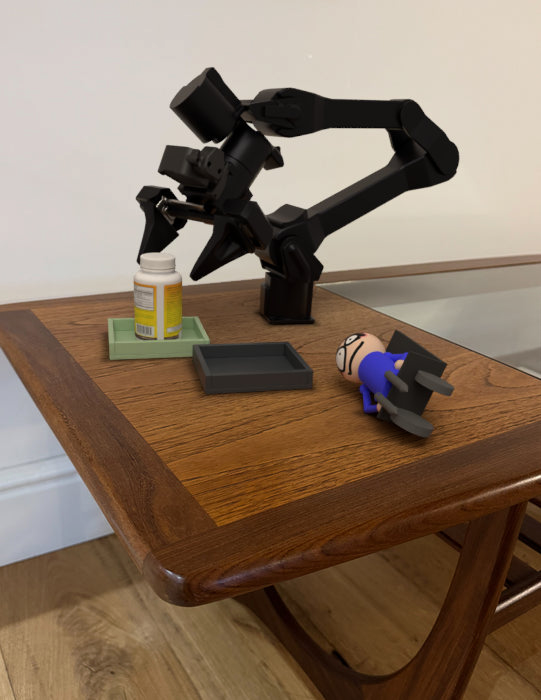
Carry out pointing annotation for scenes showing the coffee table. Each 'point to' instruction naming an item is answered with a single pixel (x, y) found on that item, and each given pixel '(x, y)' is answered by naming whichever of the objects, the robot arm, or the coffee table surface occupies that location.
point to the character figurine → (394, 377)
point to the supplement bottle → (157, 298)
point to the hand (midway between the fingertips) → (164, 271)
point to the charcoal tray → (250, 367)
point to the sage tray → (129, 348)
